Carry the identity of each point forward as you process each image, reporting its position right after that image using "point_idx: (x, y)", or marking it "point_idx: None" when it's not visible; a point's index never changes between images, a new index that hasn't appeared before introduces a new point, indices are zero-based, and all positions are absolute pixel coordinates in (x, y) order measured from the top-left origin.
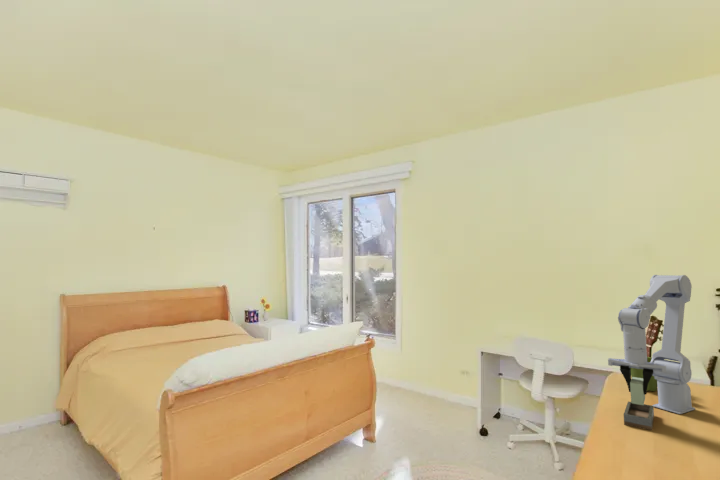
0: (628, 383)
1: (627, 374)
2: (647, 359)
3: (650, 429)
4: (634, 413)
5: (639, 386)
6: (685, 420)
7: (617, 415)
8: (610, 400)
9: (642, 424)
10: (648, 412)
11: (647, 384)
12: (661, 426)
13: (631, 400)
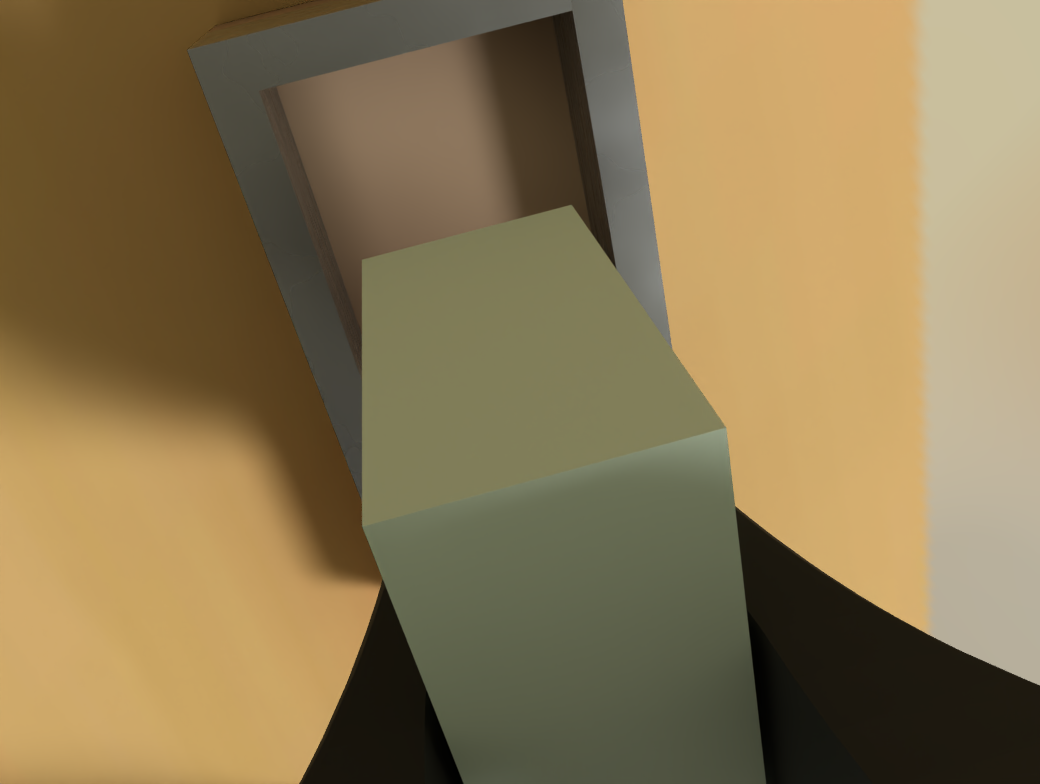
0: (775, 573)
1: (938, 761)
2: None
3: (233, 23)
4: None
5: (439, 454)
6: (154, 699)
7: (734, 270)
8: None
9: (330, 2)
10: None
11: (329, 737)
12: (215, 311)
13: (576, 226)
